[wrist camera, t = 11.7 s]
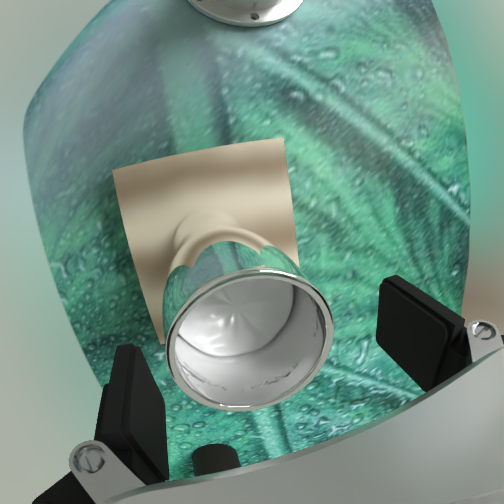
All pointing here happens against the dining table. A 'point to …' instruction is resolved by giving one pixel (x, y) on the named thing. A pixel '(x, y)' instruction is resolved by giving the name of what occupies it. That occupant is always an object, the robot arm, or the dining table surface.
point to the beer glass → (240, 317)
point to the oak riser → (202, 204)
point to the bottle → (214, 459)
